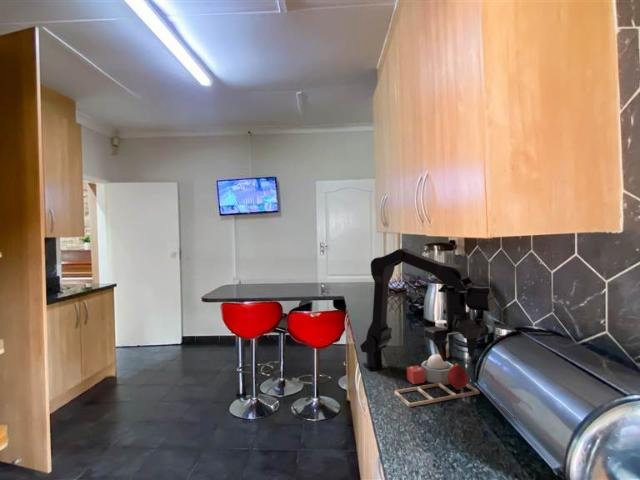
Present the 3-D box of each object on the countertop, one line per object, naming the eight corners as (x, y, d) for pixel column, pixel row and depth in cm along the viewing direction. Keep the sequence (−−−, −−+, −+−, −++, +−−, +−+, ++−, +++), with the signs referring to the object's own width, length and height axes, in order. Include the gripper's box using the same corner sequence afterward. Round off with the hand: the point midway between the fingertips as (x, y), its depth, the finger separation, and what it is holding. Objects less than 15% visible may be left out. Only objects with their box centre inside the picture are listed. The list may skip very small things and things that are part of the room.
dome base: (403, 376, 122) (402, 362, 121) (441, 369, 125) (441, 356, 125) (418, 387, 112) (417, 373, 112) (459, 380, 116) (459, 366, 116)
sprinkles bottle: (434, 354, 140) (433, 320, 140) (445, 353, 140) (444, 319, 140) (439, 359, 135) (438, 323, 135) (451, 358, 136) (450, 322, 135)
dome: (421, 370, 122) (421, 352, 122) (440, 367, 124) (440, 349, 124) (434, 378, 115) (433, 359, 115) (453, 375, 117) (453, 356, 117)
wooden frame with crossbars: (394, 393, 109) (393, 390, 109) (460, 381, 116) (459, 379, 116) (409, 407, 101) (408, 404, 101) (479, 393, 107) (479, 390, 107)
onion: (463, 384, 113) (462, 359, 113) (471, 393, 107) (471, 366, 107) (445, 385, 113) (444, 360, 113) (452, 394, 107) (451, 367, 107)
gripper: (444, 317, 99) (446, 373, 99) (502, 309, 104) (503, 364, 104) (422, 308, 110) (424, 360, 110) (475, 302, 115) (477, 351, 115)
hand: (457, 359), depth 110 cm, fingers open, 9 cm apart
